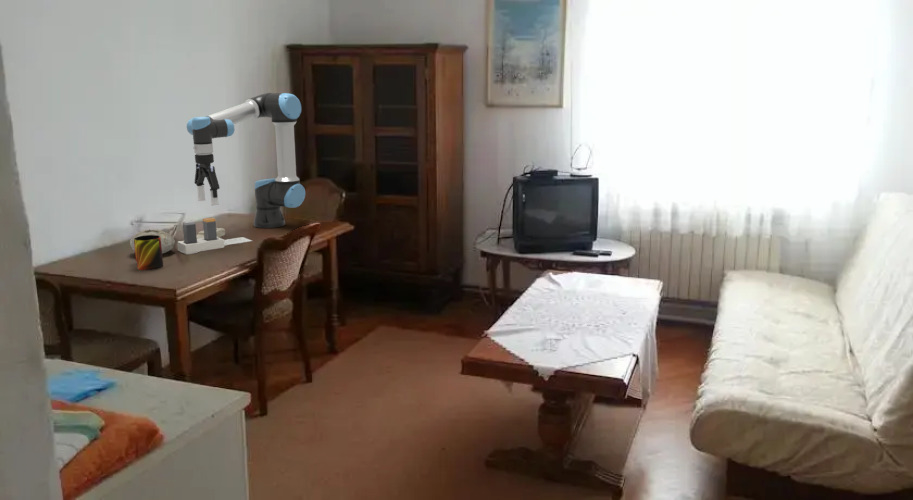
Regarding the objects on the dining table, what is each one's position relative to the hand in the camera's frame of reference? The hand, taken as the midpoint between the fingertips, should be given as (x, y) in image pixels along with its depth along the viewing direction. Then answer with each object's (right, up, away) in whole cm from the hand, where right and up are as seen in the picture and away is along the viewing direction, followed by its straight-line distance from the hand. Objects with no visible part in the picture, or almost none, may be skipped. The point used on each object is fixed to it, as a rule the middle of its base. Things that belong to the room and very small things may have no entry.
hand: (208, 202), depth 336 cm
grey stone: (-22, -22, -6) cm, 31 cm away
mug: (-17, -27, -26) cm, 41 cm away
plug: (0, -18, +4) cm, 18 cm away
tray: (+6, -17, +15) cm, 23 cm away
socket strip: (-4, -20, +2) cm, 21 cm away
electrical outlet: (-7, -16, +20) cm, 27 cm away
